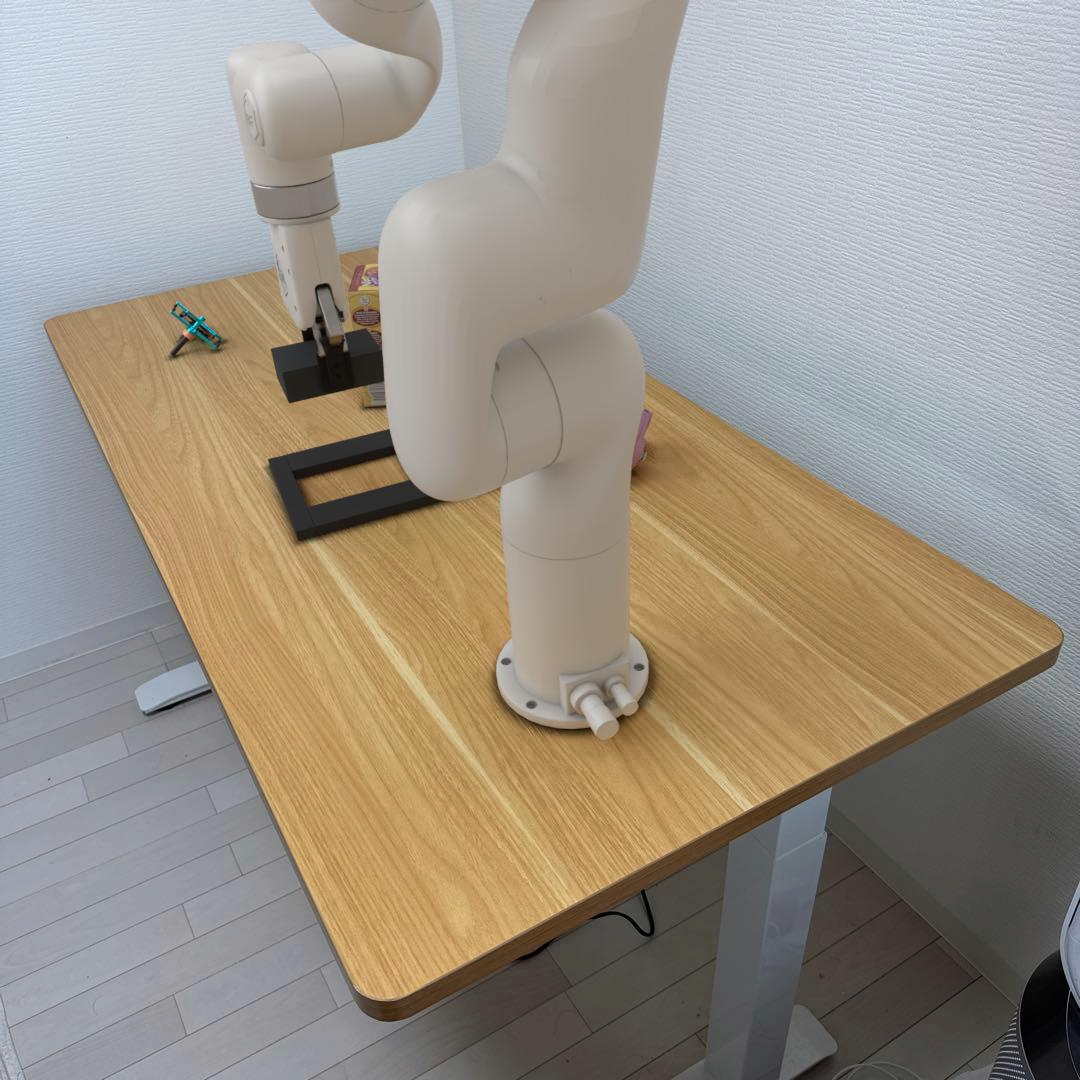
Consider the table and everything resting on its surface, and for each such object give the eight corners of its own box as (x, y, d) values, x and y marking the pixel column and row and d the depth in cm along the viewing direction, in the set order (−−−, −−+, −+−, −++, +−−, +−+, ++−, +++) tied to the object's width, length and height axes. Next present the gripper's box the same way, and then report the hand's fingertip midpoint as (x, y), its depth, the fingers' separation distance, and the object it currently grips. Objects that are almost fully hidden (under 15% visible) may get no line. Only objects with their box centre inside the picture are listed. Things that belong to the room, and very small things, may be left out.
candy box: (398, 406, 120) (380, 289, 111) (364, 408, 120) (343, 291, 111) (404, 374, 127) (387, 262, 119) (372, 376, 128) (352, 264, 119)
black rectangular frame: (499, 485, 104) (498, 476, 103) (298, 541, 98) (295, 531, 97) (451, 422, 116) (450, 413, 116) (269, 467, 110) (267, 458, 109)
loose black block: (386, 381, 98) (381, 350, 96) (289, 403, 95) (281, 372, 93) (371, 357, 102) (366, 327, 100) (277, 378, 99) (270, 348, 97)
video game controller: (623, 498, 104) (654, 450, 99) (586, 480, 103) (614, 430, 99) (635, 451, 111) (663, 404, 107) (599, 434, 111) (626, 386, 107)
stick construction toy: (229, 338, 135) (182, 299, 131) (196, 376, 134) (148, 338, 131) (221, 331, 145) (177, 295, 142) (190, 367, 145) (146, 331, 141)
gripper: (239, 178, 93) (278, 349, 103) (272, 231, 80) (313, 420, 91) (316, 166, 95) (346, 335, 106) (360, 215, 82) (390, 402, 93)
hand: (331, 373), depth 98 cm, fingers closed on loose black block, 6 cm apart
